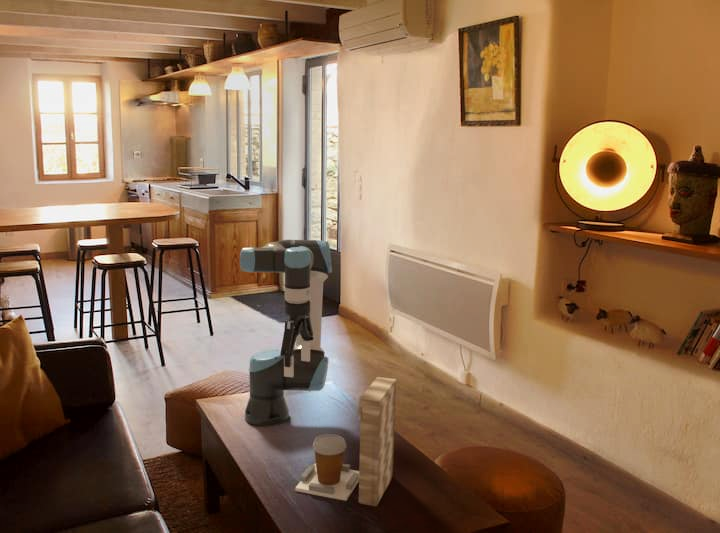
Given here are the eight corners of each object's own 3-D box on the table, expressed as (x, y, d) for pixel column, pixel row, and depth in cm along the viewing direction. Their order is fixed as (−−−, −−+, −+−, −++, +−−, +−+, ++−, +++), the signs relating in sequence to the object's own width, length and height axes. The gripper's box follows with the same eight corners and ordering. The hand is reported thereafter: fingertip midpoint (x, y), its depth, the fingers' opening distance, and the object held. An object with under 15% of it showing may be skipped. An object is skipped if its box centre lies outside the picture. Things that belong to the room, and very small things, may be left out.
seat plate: (315, 466, 205) (315, 458, 204) (362, 474, 200) (363, 467, 200) (295, 491, 191) (295, 482, 190) (346, 500, 186) (346, 492, 186)
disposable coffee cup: (341, 490, 190) (342, 450, 187) (308, 486, 192) (308, 446, 189) (348, 473, 199) (349, 435, 196) (317, 469, 201) (317, 431, 198)
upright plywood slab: (374, 473, 201) (377, 376, 195) (392, 476, 200) (396, 379, 194) (356, 502, 186) (359, 398, 180) (376, 506, 184) (379, 401, 178)
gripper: (293, 313, 189) (293, 385, 193) (323, 291, 212) (323, 356, 217) (268, 310, 191) (268, 381, 195) (301, 289, 214) (301, 353, 219)
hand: (297, 368), depth 206 cm, fingers open, 13 cm apart
